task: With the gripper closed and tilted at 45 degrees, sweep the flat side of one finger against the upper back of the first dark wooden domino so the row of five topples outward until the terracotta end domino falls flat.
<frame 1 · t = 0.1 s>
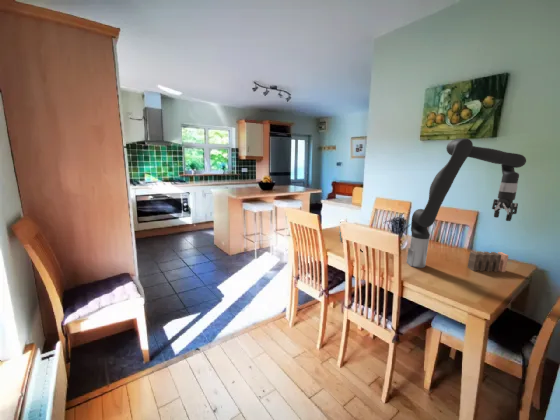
hand: (501, 219, 152), 29 cm above the table, tool pointing down, fingers open, 8 cm apart
ink box: (342, 235, 216), on the table
domino 1: (472, 269, 154), on the table
domino 2: (478, 269, 154), on the table
coffee cup: (344, 241, 200), on the table
domino 4: (492, 269, 154), on the table
domino 5: (500, 270, 154), on the table
domino 3: (485, 269, 154), on the table
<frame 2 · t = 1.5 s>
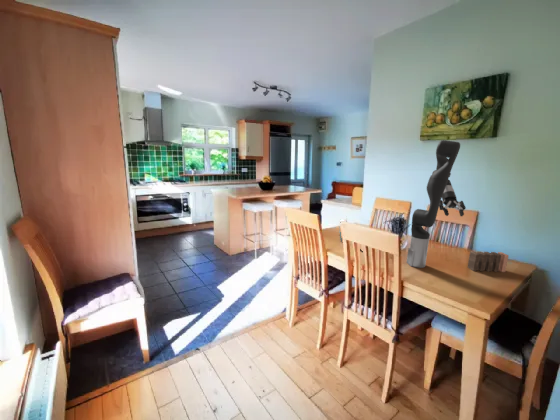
hand: (454, 215, 162), 28 cm above the table, tool tilted 45°, fingers open, 8 cm apart
nothing on the table moved.
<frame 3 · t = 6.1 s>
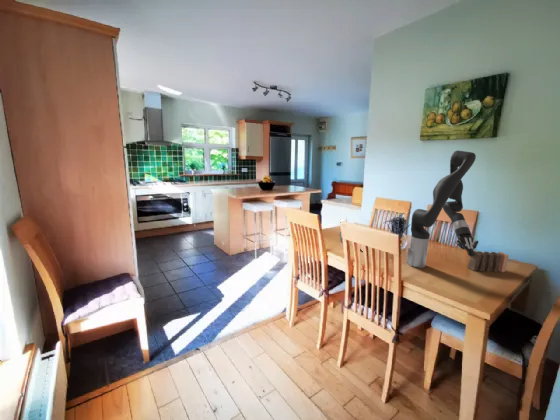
hand: (472, 255, 151), 8 cm above the table, tool tilted 45°, fingers closed
domino 1: (472, 268, 154), on the table, tilted 8°, touching gripper
everything else where it was.
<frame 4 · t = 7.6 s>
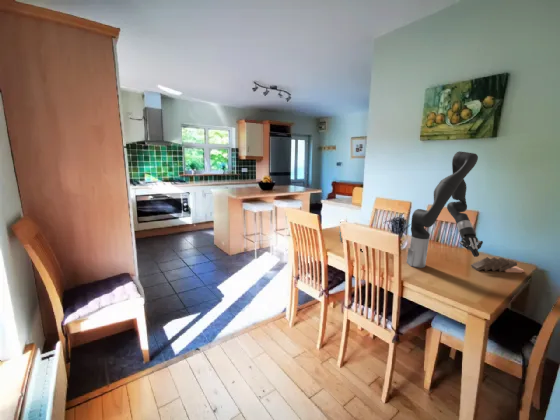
hand: (476, 256, 151), 8 cm above the table, tool tilted 45°, fingers closed
domino 1: (474, 267, 154), point 1 cm above the table, tilted 61°, touching domino 2
domino 2: (481, 267, 154), point 1 cm above the table, tilted 61°, touching domino 1, domino 3
domino 4: (496, 268, 154), point 1 cm above the table, tilted 65°, touching domino 5
domino 5: (502, 269, 154), on the table, tilted 90°, touching domino 4
domino 3: (488, 268, 154), point 1 cm above the table, tilted 61°, touching domino 2
everything else where it was.
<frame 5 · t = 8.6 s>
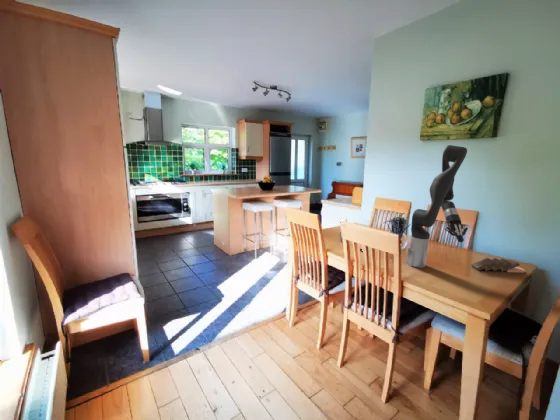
hand: (461, 241, 156), 15 cm above the table, tool tilted 45°, fingers closed
domino 2: (482, 268, 154), point 1 cm above the table, tilted 63°, touching domino 1
domino 4: (498, 268, 153), point 1 cm above the table, tilted 66°, touching domino 3
domino 5: (503, 269, 154), on the table, tilted 90°
domino 3: (490, 268, 154), point 1 cm above the table, tilted 63°, touching domino 4
everything else where it was.
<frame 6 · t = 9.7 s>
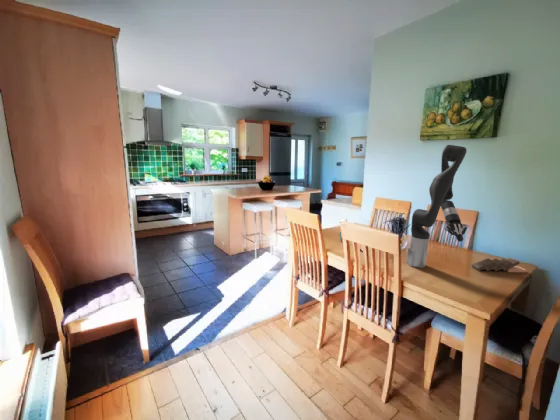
hand: (460, 241, 157), 15 cm above the table, tool tilted 45°, fingers closed
domino 2: (483, 268, 154), point 1 cm above the table, tilted 65°, touching domino 1, domino 3
domino 4: (499, 268, 154), point 1 cm above the table, tilted 65°, touching domino 3
domino 5: (505, 269, 154), on the table, tilted 90°
domino 3: (491, 268, 154), point 1 cm above the table, tilted 65°, touching domino 2, domino 4
everything else where it was.
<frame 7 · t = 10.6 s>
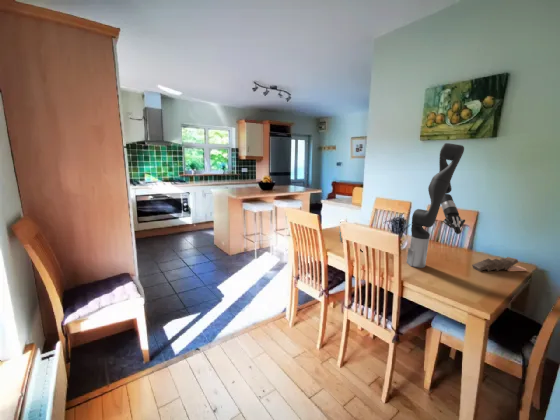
hand: (458, 233, 159), 19 cm above the table, tool tilted 45°, fingers closed
domino 2: (484, 268, 153), point 1 cm above the table, tilted 66°, touching domino 1
domino 4: (500, 267, 155), point 1 cm above the table, tilted 67°, touching domino 3, domino 5
domino 5: (505, 269, 154), on the table, tilted 90°, touching domino 4
domino 3: (492, 268, 154), point 1 cm above the table, tilted 66°, touching domino 4
everything else where it was.
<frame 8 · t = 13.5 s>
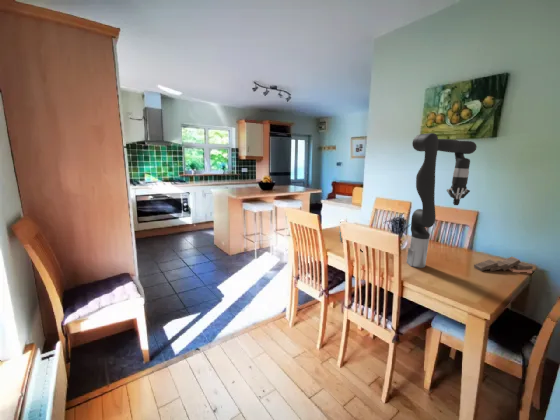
hand: (455, 205, 161), 35 cm above the table, tool pointing down, fingers closed
domino 1: (477, 267, 153), point 1 cm above the table, tilted 70°, touching domino 2
domino 2: (487, 268, 154), point 1 cm above the table, tilted 73°, touching domino 1, domino 3
domino 4: (513, 266, 153), point 2 cm above the table, tilted 90°
domino 5: (509, 269, 154), on the table, tilted 90°
domino 3: (500, 267, 155), point 1 cm above the table, tilted 58°, touching domino 2
everything else where it was.
at the end: domino 1 tilted 70°; domino 3 tilted 58°; domino 5 tilted 90° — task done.
